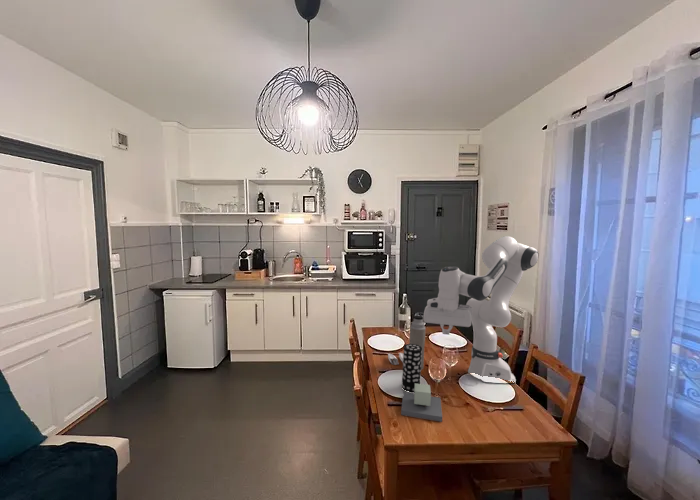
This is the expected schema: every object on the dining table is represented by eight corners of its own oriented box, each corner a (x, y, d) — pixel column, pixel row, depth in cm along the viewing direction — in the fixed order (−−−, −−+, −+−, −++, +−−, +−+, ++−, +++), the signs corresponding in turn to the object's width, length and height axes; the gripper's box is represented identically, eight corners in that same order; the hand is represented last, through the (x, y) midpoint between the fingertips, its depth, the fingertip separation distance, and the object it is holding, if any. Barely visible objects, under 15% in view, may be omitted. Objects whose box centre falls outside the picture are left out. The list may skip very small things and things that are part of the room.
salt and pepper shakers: (411, 365, 172) (407, 357, 183) (411, 358, 171) (407, 350, 182) (389, 365, 171) (386, 357, 182) (389, 358, 171) (386, 350, 182)
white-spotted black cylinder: (399, 389, 146) (401, 348, 144) (404, 382, 154) (406, 342, 152) (416, 395, 142) (419, 352, 141) (421, 386, 150) (424, 346, 148)
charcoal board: (440, 402, 137) (440, 397, 137) (442, 421, 124) (442, 417, 124) (403, 396, 141) (403, 392, 141) (401, 414, 127) (401, 410, 127)
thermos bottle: (421, 363, 174) (424, 314, 171) (424, 370, 166) (427, 319, 163) (407, 363, 174) (409, 314, 171) (409, 370, 166) (412, 318, 163)
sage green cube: (429, 397, 135) (429, 385, 134) (430, 405, 128) (430, 393, 128) (414, 395, 136) (414, 383, 135) (414, 403, 129) (414, 391, 129)
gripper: (471, 303, 139) (469, 334, 140) (424, 299, 143) (422, 329, 145) (474, 307, 133) (471, 339, 134) (424, 303, 137) (422, 333, 138)
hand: (445, 333), depth 139 cm, fingers closed
